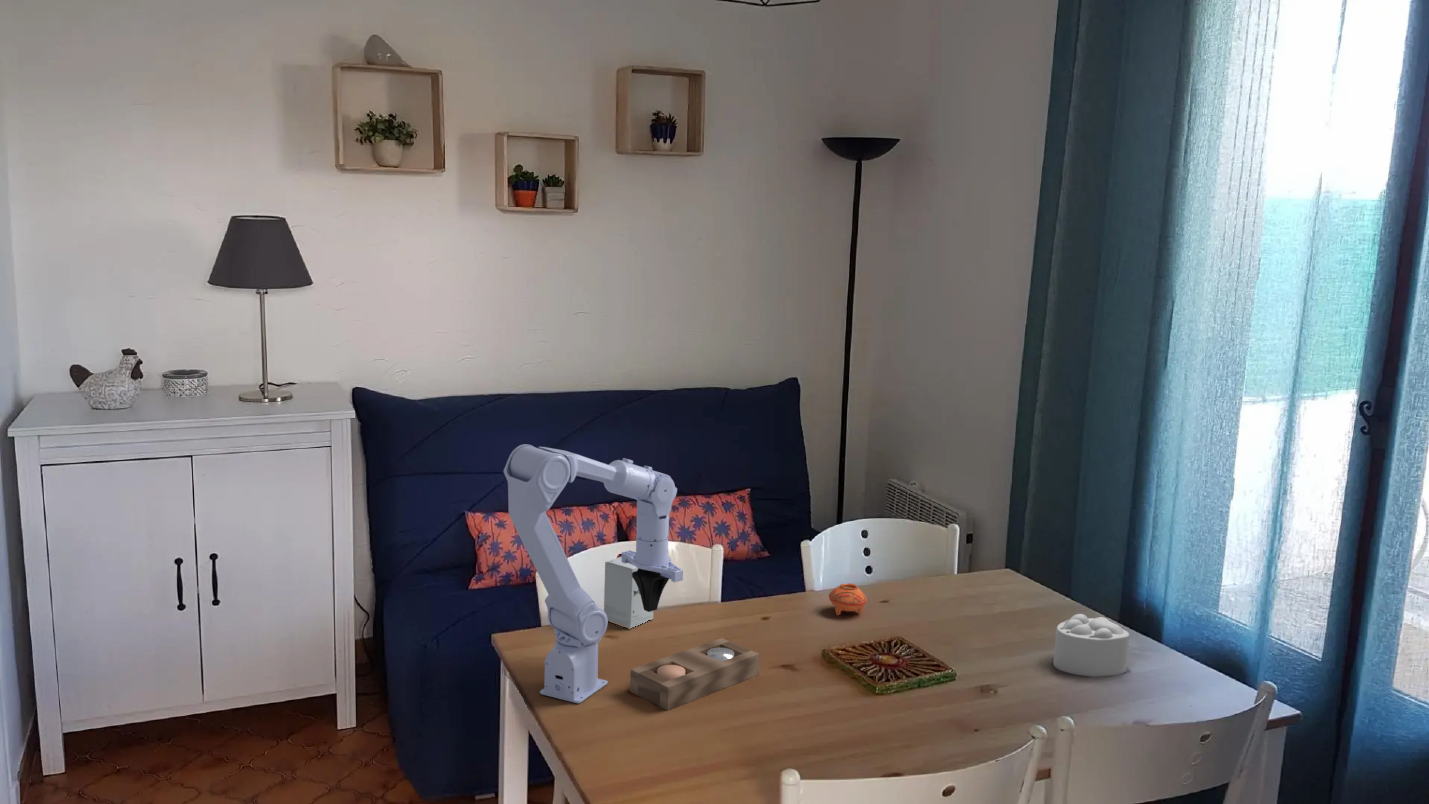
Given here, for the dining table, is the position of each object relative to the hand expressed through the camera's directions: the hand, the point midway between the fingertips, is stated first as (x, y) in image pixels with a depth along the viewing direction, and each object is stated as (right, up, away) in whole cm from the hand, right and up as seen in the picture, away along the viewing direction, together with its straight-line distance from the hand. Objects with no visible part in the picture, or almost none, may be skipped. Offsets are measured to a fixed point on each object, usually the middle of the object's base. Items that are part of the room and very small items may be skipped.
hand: (650, 609), depth 198 cm
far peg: (+13, -11, -1) cm, 17 cm away
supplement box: (-6, -7, +23) cm, 24 cm away
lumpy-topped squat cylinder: (+82, -12, +9) cm, 83 cm away
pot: (+39, -7, +32) cm, 51 cm away
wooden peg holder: (+8, -12, -6) cm, 15 cm away
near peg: (+4, -12, -10) cm, 16 cm away
